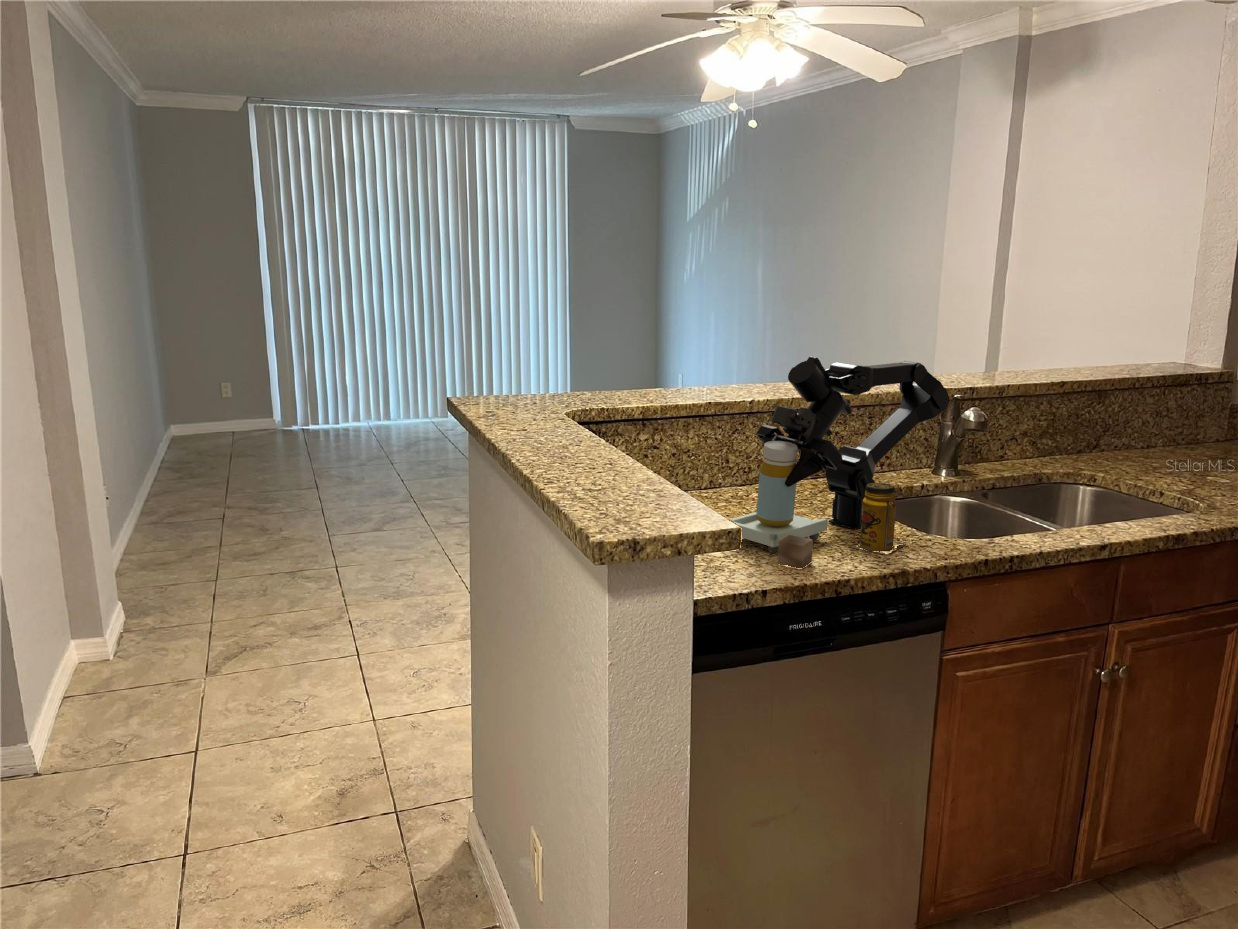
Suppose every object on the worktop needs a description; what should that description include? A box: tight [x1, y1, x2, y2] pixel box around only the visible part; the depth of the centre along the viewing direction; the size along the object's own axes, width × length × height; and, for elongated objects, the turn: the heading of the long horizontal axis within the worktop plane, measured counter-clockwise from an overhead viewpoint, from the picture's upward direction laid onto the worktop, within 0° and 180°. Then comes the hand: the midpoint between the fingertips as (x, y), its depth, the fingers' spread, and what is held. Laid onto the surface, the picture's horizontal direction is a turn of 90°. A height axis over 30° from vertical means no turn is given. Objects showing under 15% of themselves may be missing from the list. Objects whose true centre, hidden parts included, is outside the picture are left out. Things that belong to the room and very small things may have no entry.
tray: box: [728, 511, 829, 554], centre depth 176 cm, size 12×16×4 cm
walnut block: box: [777, 535, 814, 568], centre depth 163 cm, size 4×4×4 cm
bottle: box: [755, 441, 798, 527], centre depth 174 cm, size 7×7×15 cm
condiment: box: [852, 482, 907, 556], centre depth 172 cm, size 7×8×12 cm
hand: (773, 481), depth 173 cm, fingers closed on bottle, 7 cm apart
